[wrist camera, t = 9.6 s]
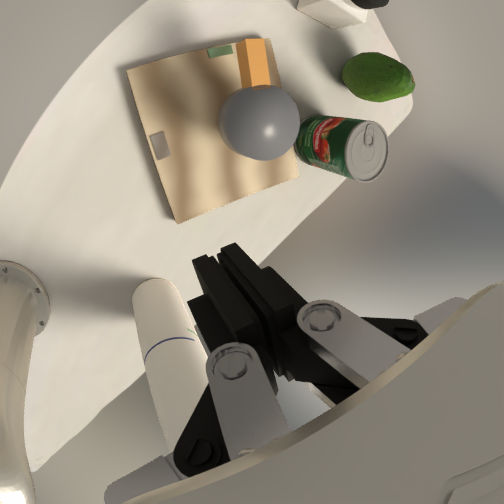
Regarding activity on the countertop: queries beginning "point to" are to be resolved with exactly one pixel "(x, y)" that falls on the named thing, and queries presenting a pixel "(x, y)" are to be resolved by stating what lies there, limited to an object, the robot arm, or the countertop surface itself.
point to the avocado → (377, 77)
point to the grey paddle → (258, 109)
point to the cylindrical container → (169, 355)
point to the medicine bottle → (339, 11)
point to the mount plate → (200, 130)
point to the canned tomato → (343, 146)
